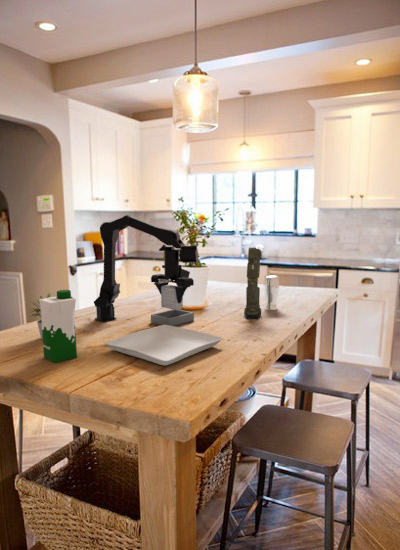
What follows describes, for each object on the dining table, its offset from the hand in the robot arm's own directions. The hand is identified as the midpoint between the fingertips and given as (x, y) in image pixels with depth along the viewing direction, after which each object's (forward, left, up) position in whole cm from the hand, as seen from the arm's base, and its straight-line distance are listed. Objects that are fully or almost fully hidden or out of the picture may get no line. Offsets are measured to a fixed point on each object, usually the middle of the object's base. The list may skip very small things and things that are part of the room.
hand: (171, 301), depth 160 cm
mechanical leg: (+30, -18, -9) cm, 36 cm away
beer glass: (+46, -17, -9) cm, 50 cm away
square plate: (-25, -22, -9) cm, 35 cm away
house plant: (-43, +19, -9) cm, 48 cm away
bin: (0, 0, -8) cm, 8 cm away
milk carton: (-51, -4, -9) cm, 52 cm away
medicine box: (0, 0, -3) cm, 3 cm away
